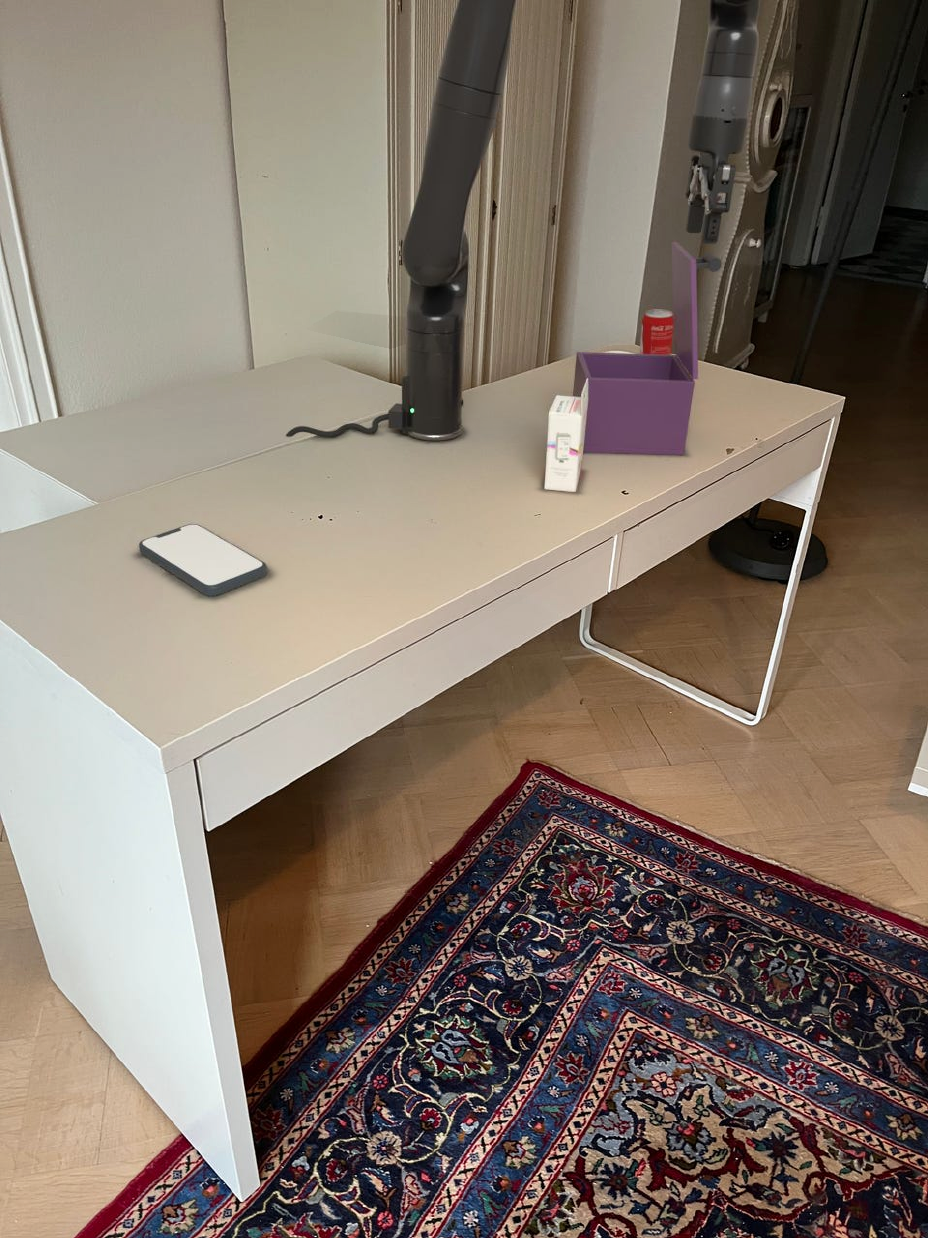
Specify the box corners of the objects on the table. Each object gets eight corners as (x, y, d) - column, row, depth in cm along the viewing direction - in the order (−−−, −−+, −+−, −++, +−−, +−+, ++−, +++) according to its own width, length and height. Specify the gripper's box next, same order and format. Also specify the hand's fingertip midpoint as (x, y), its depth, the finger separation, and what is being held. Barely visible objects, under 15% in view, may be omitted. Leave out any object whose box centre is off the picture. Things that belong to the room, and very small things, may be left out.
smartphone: (272, 576, 115) (197, 531, 125) (271, 564, 115) (195, 520, 124) (209, 601, 110) (135, 553, 119) (208, 589, 109) (133, 541, 118)
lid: (690, 260, 138) (729, 254, 138) (671, 242, 151) (707, 236, 151) (692, 379, 147) (729, 374, 147) (674, 352, 160) (708, 347, 160)
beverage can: (671, 391, 182) (682, 310, 175) (658, 399, 178) (669, 317, 170) (642, 385, 185) (652, 305, 177) (628, 393, 180) (638, 312, 173)
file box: (579, 452, 153) (586, 378, 147) (570, 420, 166) (576, 351, 160) (683, 455, 154) (695, 382, 147) (666, 422, 167) (676, 354, 161)
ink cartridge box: (549, 468, 147) (557, 373, 139) (581, 471, 146) (591, 376, 139) (542, 489, 140) (549, 391, 132) (576, 493, 139) (585, 394, 131)
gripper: (681, 109, 138) (664, 228, 147) (708, 115, 126) (688, 245, 135) (731, 111, 139) (712, 230, 147) (763, 118, 127) (740, 247, 135)
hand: (700, 237), depth 141 cm, fingers open, 8 cm apart
